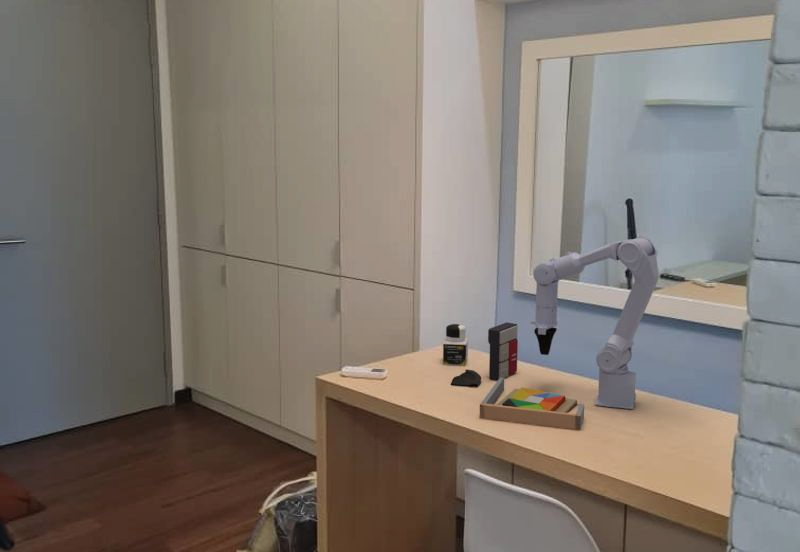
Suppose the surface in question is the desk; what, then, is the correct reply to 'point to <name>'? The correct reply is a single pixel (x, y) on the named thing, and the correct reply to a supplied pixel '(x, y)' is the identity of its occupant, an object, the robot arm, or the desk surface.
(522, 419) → the bay
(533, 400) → the wooden puzzle
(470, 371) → the dark sector wedge
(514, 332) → the grey and red box
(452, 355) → the medicine bottle
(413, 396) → the desk surface
